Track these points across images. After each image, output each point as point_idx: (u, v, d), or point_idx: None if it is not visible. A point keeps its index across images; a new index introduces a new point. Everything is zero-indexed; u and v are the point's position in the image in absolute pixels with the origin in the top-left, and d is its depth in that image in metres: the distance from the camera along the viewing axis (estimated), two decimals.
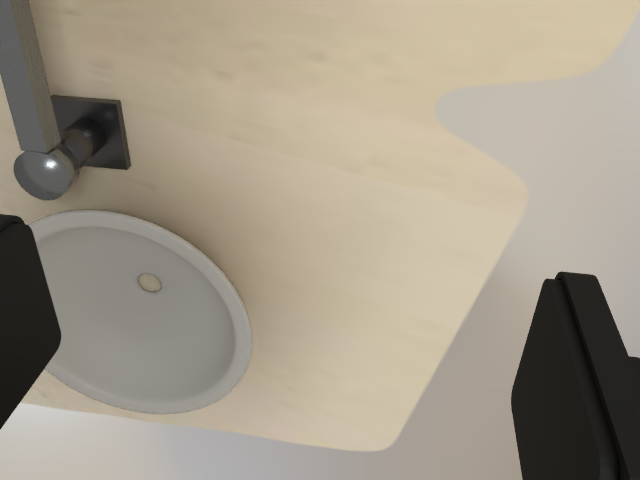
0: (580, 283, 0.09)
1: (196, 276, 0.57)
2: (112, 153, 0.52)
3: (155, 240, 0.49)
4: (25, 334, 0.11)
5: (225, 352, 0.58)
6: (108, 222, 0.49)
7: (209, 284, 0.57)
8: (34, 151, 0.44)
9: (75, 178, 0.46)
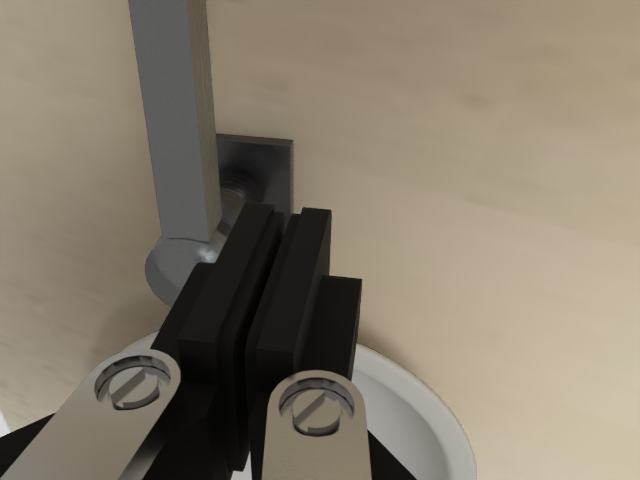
0: (312, 215, 0.11)
1: (373, 392, 0.39)
2: None
3: (354, 367, 0.30)
4: None
5: None
6: None
7: (395, 406, 0.38)
8: (185, 238, 0.25)
9: None
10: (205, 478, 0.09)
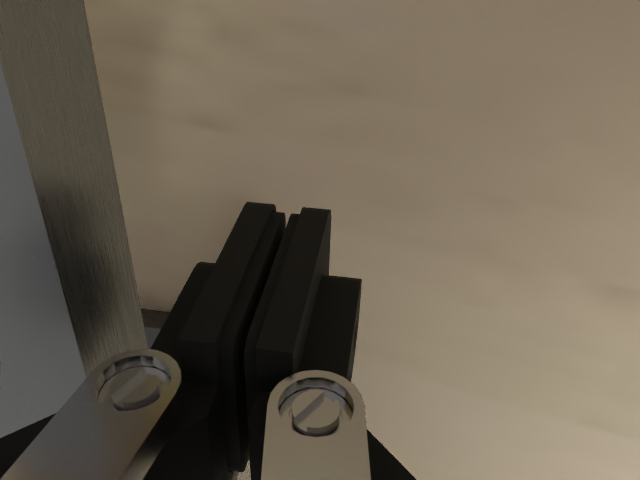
0: (311, 215, 0.11)
1: None
2: None
3: None
4: None
5: None
6: None
7: None
8: None
9: None
10: (206, 478, 0.09)
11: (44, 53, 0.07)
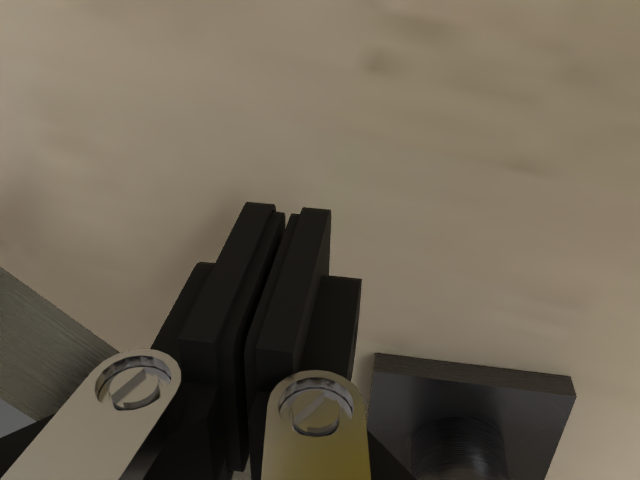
0: (311, 215, 0.11)
1: None
2: None
3: None
4: None
5: None
6: None
7: None
8: None
9: None
10: (206, 478, 0.09)
11: None
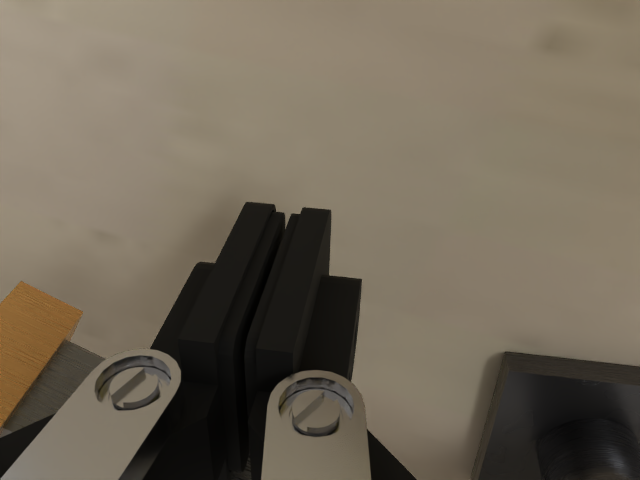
0: (311, 215, 0.11)
1: None
2: None
3: None
4: None
5: None
6: None
7: None
8: None
9: None
10: (205, 478, 0.09)
11: None
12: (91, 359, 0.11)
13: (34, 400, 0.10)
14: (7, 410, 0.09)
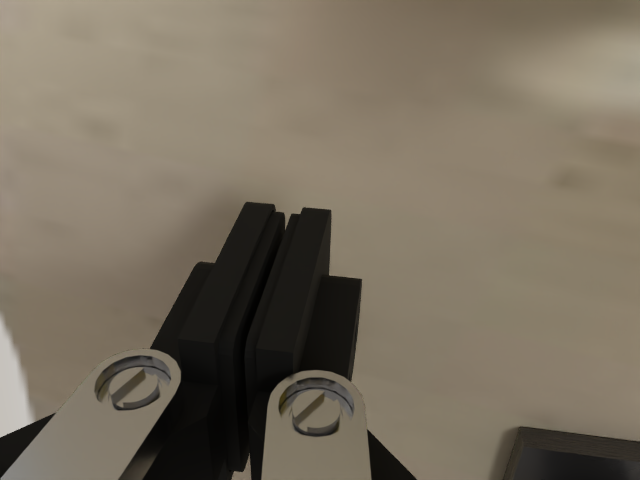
0: (311, 215, 0.11)
1: None
2: None
3: None
4: None
5: None
6: None
7: None
8: None
9: None
10: (205, 478, 0.09)
11: None
12: None
13: None
14: None
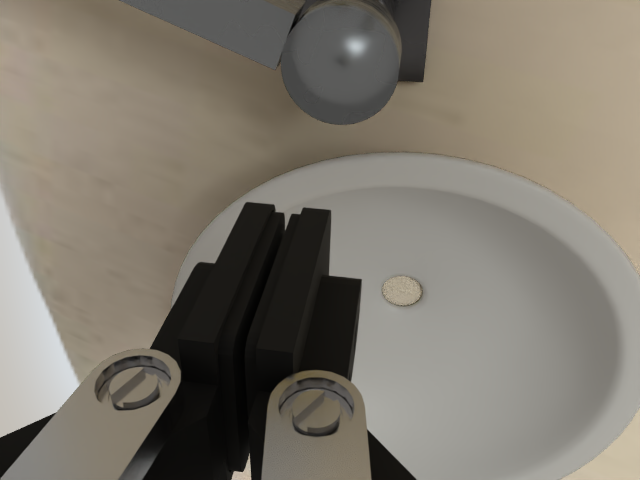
0: (312, 215, 0.11)
1: (506, 279, 0.33)
2: None
3: (522, 211, 0.24)
4: None
5: (552, 410, 0.33)
6: (431, 176, 0.24)
7: (535, 293, 0.32)
8: (285, 43, 0.20)
9: (384, 14, 0.20)
10: (205, 478, 0.09)
11: None
12: None
13: None
14: None
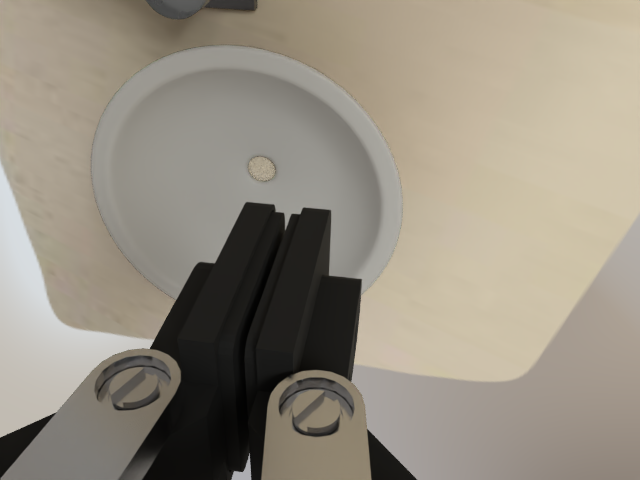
0: (312, 215, 0.11)
1: (325, 153, 0.48)
2: None
3: (300, 84, 0.40)
4: None
5: (357, 246, 0.48)
6: (243, 60, 0.39)
7: (342, 161, 0.47)
8: None
9: None
10: (205, 478, 0.09)
11: None
12: None
13: None
14: None
